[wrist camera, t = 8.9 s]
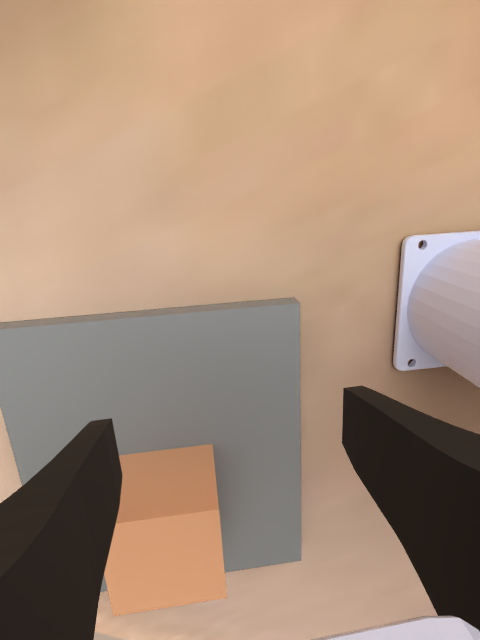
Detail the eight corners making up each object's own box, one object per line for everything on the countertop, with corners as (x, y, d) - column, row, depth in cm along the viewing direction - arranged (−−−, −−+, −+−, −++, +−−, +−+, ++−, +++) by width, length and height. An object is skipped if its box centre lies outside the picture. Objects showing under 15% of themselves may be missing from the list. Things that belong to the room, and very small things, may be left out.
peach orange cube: (212, 444, 23) (218, 509, 18) (219, 520, 25) (226, 597, 20) (113, 456, 22) (93, 526, 18) (127, 533, 24) (113, 616, 19)
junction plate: (294, 297, 22) (320, 324, 18) (296, 545, 28) (317, 612, 23) (-9, 323, 20) (-64, 360, 16) (59, 581, 26) (33, 660, 22)
